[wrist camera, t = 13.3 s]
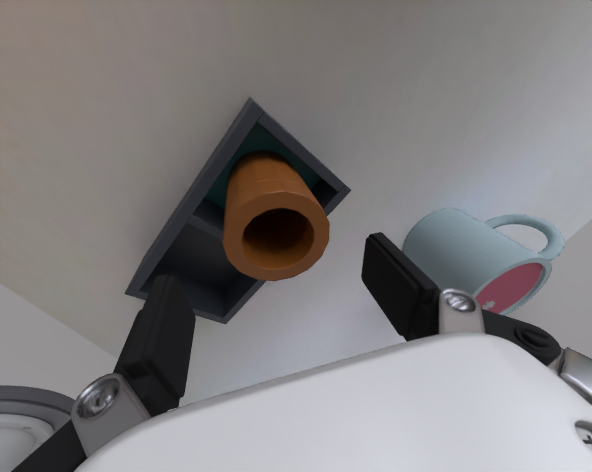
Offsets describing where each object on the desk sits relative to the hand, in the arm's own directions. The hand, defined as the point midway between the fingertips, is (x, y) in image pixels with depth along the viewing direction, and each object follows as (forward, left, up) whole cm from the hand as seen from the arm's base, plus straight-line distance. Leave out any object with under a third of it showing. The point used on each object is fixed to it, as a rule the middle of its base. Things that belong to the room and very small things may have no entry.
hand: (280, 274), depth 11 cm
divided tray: (0, -4, -13) cm, 13 cm away
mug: (+24, +10, -13) cm, 29 cm away
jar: (0, 0, -12) cm, 12 cm away
